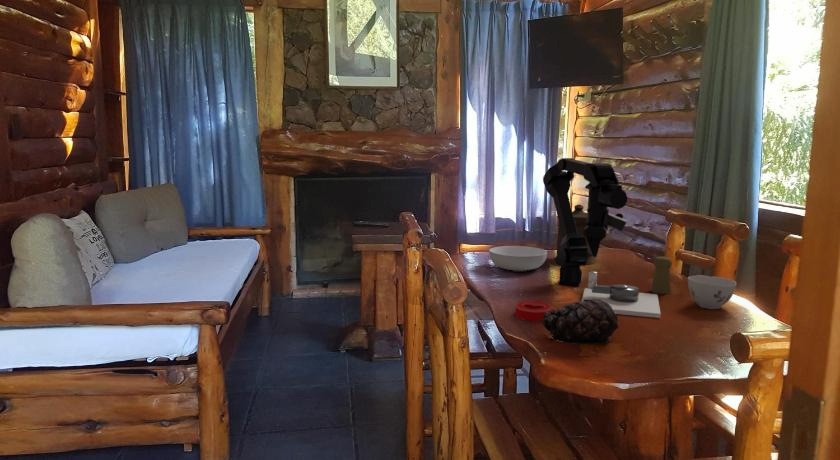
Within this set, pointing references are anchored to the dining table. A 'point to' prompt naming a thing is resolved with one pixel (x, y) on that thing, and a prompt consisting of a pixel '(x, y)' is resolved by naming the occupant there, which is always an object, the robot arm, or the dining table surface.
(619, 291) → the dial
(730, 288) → the teacup
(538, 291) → the dining table surface
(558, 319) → the pine cone
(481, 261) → the dining table surface
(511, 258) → the serving bowl
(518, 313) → the decorative ornament
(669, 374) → the dining table surface
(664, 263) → the cork
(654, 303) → the stand board
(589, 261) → the wooden container
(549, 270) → the dining table surface
